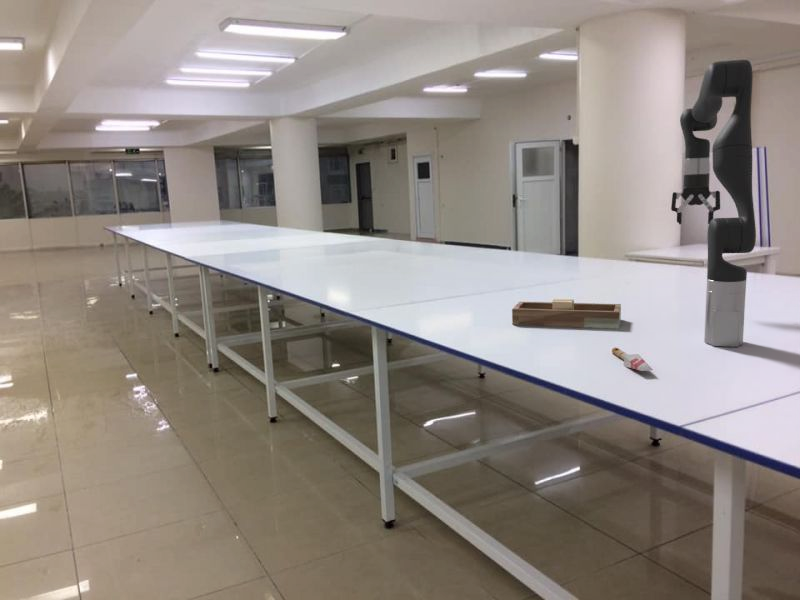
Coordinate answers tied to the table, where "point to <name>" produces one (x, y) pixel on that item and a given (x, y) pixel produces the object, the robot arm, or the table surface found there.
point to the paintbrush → (632, 360)
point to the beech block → (563, 304)
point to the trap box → (567, 315)
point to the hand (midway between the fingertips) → (694, 224)
